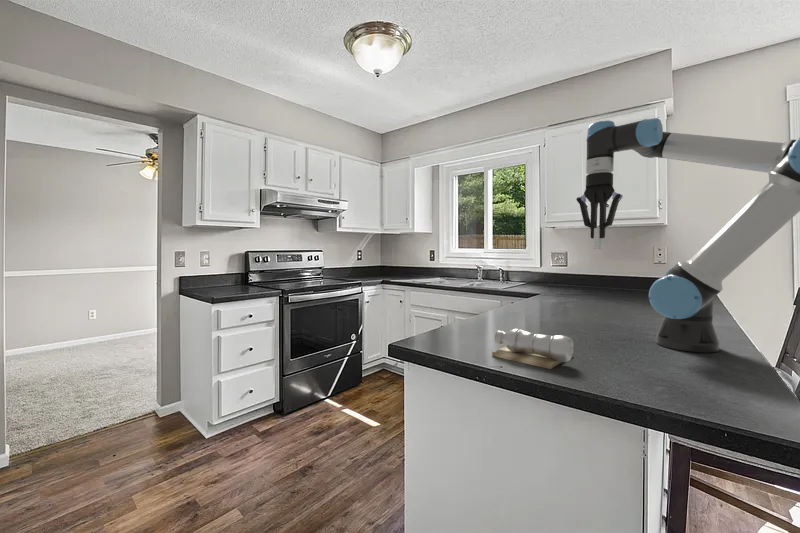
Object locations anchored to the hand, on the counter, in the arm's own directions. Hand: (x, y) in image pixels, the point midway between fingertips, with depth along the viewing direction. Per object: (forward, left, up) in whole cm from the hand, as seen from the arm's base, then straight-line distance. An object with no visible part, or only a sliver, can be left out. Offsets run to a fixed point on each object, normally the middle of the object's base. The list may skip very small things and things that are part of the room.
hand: (597, 248), depth 117 cm
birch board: (+7, +30, -29) cm, 43 cm away
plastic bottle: (-5, +33, -25) cm, 42 cm away
